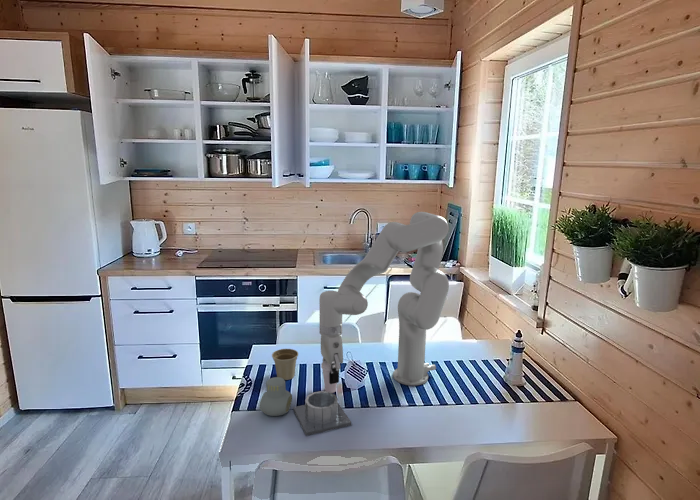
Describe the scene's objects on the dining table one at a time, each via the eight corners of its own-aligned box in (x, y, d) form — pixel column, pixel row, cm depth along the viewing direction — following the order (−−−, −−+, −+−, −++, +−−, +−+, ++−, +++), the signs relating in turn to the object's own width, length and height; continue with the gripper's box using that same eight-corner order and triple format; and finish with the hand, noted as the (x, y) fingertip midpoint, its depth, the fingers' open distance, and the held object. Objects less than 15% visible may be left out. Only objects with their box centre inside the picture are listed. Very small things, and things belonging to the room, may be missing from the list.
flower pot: (267, 379, 155) (266, 357, 154) (281, 368, 164) (280, 346, 162) (290, 385, 152) (290, 362, 150) (303, 372, 161) (303, 351, 159)
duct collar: (335, 401, 142) (335, 384, 141) (351, 425, 130) (351, 407, 128) (293, 410, 137) (293, 392, 136) (306, 436, 124) (305, 417, 123)
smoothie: (343, 387, 150) (343, 350, 148) (334, 396, 145) (335, 357, 142) (326, 383, 153) (326, 346, 150) (317, 392, 147) (317, 353, 144)
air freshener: (284, 422, 131) (283, 391, 129) (257, 419, 132) (256, 389, 130) (293, 402, 141) (293, 374, 139) (269, 400, 143) (268, 371, 140)
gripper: (351, 336, 138) (350, 388, 142) (332, 318, 153) (332, 365, 157) (328, 340, 135) (328, 392, 139) (312, 320, 151) (312, 368, 154)
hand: (330, 377), depth 148 cm, fingers closed on smoothie, 6 cm apart
